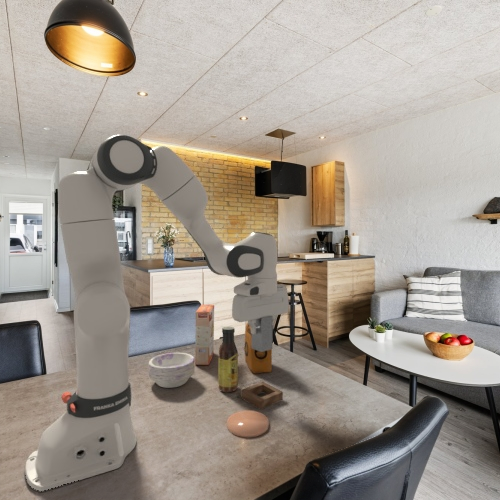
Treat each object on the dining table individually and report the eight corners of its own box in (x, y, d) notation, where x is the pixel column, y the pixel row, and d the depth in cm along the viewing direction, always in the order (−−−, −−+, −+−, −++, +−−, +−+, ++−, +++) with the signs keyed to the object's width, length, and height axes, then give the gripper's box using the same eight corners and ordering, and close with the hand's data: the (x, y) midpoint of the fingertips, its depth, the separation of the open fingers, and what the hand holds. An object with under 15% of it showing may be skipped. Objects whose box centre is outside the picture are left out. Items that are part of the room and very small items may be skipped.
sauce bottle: (234, 394, 104) (235, 331, 103) (215, 392, 105) (215, 330, 104) (239, 385, 110) (239, 326, 109) (221, 383, 111) (221, 325, 111)
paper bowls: (168, 370, 122) (168, 348, 122) (203, 377, 116) (203, 355, 116) (138, 386, 109) (138, 363, 108) (176, 396, 102) (175, 371, 102)
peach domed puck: (244, 442, 79) (244, 439, 79) (218, 422, 88) (218, 419, 88) (277, 426, 86) (277, 423, 86) (250, 409, 95) (250, 406, 95)
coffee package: (247, 375, 118) (247, 314, 117) (243, 361, 130) (243, 306, 130) (274, 373, 120) (275, 313, 119) (267, 360, 132) (268, 306, 131)
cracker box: (210, 365, 126) (210, 311, 126) (194, 365, 127) (194, 311, 126) (214, 352, 140) (214, 304, 140) (200, 352, 140) (200, 304, 140)
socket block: (260, 409, 95) (260, 401, 94) (241, 397, 101) (241, 389, 101) (282, 399, 100) (282, 391, 100) (262, 389, 107) (263, 381, 107)
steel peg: (261, 352, 97) (261, 318, 97) (251, 348, 100) (251, 315, 100) (272, 348, 100) (272, 316, 99) (262, 345, 103) (262, 313, 103)
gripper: (279, 282, 108) (279, 324, 109) (229, 288, 95) (228, 335, 96) (293, 284, 104) (293, 328, 104) (242, 290, 91) (242, 340, 91)
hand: (261, 331), depth 100 cm, fingers closed on steel peg, 4 cm apart
